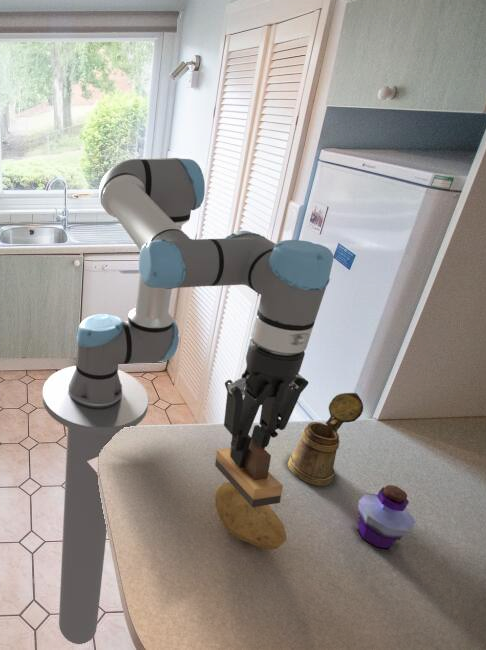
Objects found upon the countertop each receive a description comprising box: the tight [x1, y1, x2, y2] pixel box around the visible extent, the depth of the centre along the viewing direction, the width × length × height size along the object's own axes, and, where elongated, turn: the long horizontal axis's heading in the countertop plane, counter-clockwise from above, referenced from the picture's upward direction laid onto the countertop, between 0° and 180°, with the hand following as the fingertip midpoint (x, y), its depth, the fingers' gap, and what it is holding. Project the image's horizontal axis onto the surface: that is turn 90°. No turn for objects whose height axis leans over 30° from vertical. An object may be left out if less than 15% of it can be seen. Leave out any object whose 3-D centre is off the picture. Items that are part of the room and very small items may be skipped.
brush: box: [214, 435, 284, 507], centre depth 78 cm, size 11×5×8 cm, turn 10°
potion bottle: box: [357, 484, 417, 551], centre depth 84 cm, size 9×9×12 cm
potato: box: [214, 481, 288, 550], centre depth 85 cm, size 10×14×8 cm
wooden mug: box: [287, 392, 364, 486], centre depth 99 cm, size 9×14×18 cm, turn 118°
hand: (244, 460), depth 78 cm, fingers closed on brush, 2 cm apart
